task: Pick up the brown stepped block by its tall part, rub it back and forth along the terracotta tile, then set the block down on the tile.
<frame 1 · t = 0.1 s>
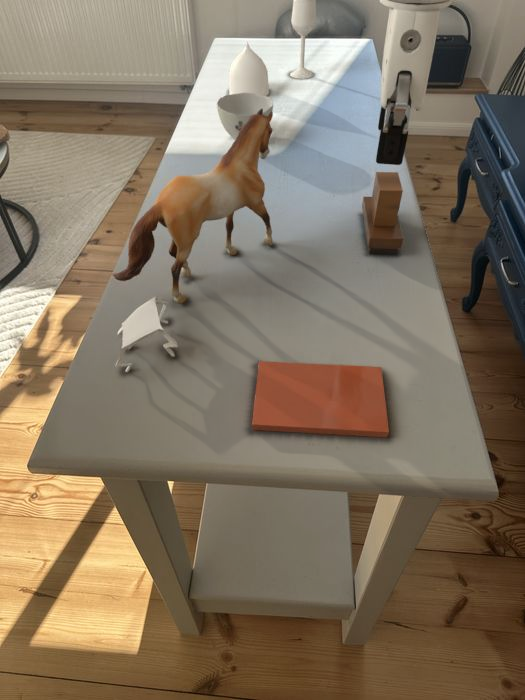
hand: (389, 145, 63), 20 cm above the table, tool pointing down, fingers open, 9 cm apart
teacup: (246, 136, 113), on the table
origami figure: (153, 344, 68), on the table
champagne flute: (301, 75, 140), on the table
horse figurine: (203, 264, 80), on the table
tile: (319, 400, 61), on the table
teardrop: (249, 93, 131), on the table
brown stepped block: (379, 233, 85), on the table
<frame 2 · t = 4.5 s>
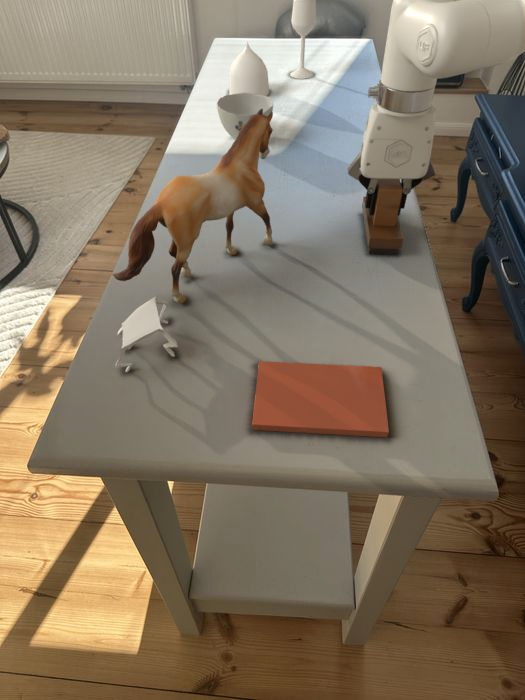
hand: (383, 210, 82), 5 cm above the table, tool pointing down, fingers closed on brown stepped block, 3 cm apart
brown stepped block: (379, 233, 85), on the table, touching gripper
everything else where it was.
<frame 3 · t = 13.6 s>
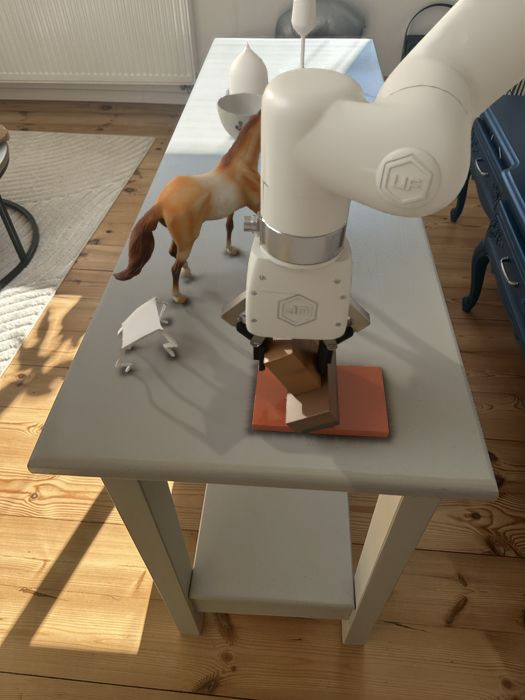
hand: (291, 362, 56), 7 cm above the table, tool pointing down, fingers closed on brown stepped block, 6 cm apart
brown stepped block: (320, 388, 59), point 2 cm above the table, tilted 31°, touching gripper, tile
everything else where it was.
when the fingers open (6 cm above the table, at t = 16.8 s): brown stepped block stays where it is, resting on tile.
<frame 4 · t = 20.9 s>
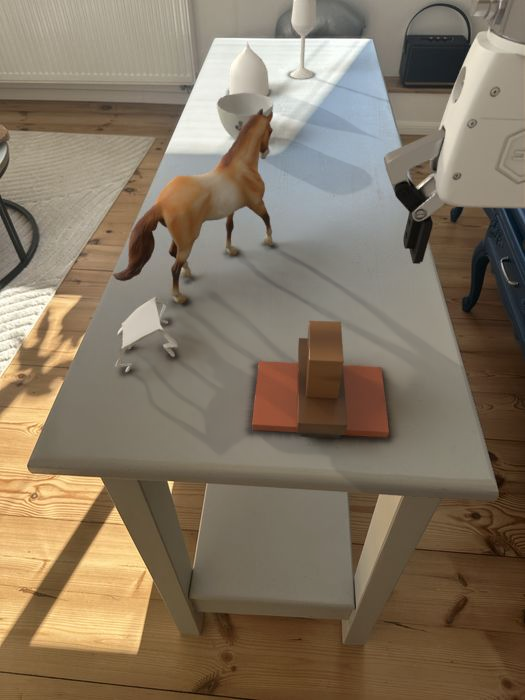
hand: (472, 255, 41), 24 cm above the table, tool pointing down, fingers open, 9 cm apart
brown stepped block: (319, 395, 60), point 1 cm above the table, touching tile
everything else where it was.
at the end: brown stepped block touching tile; the gripper is holding nothing; brown stepped block tilted 0° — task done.
